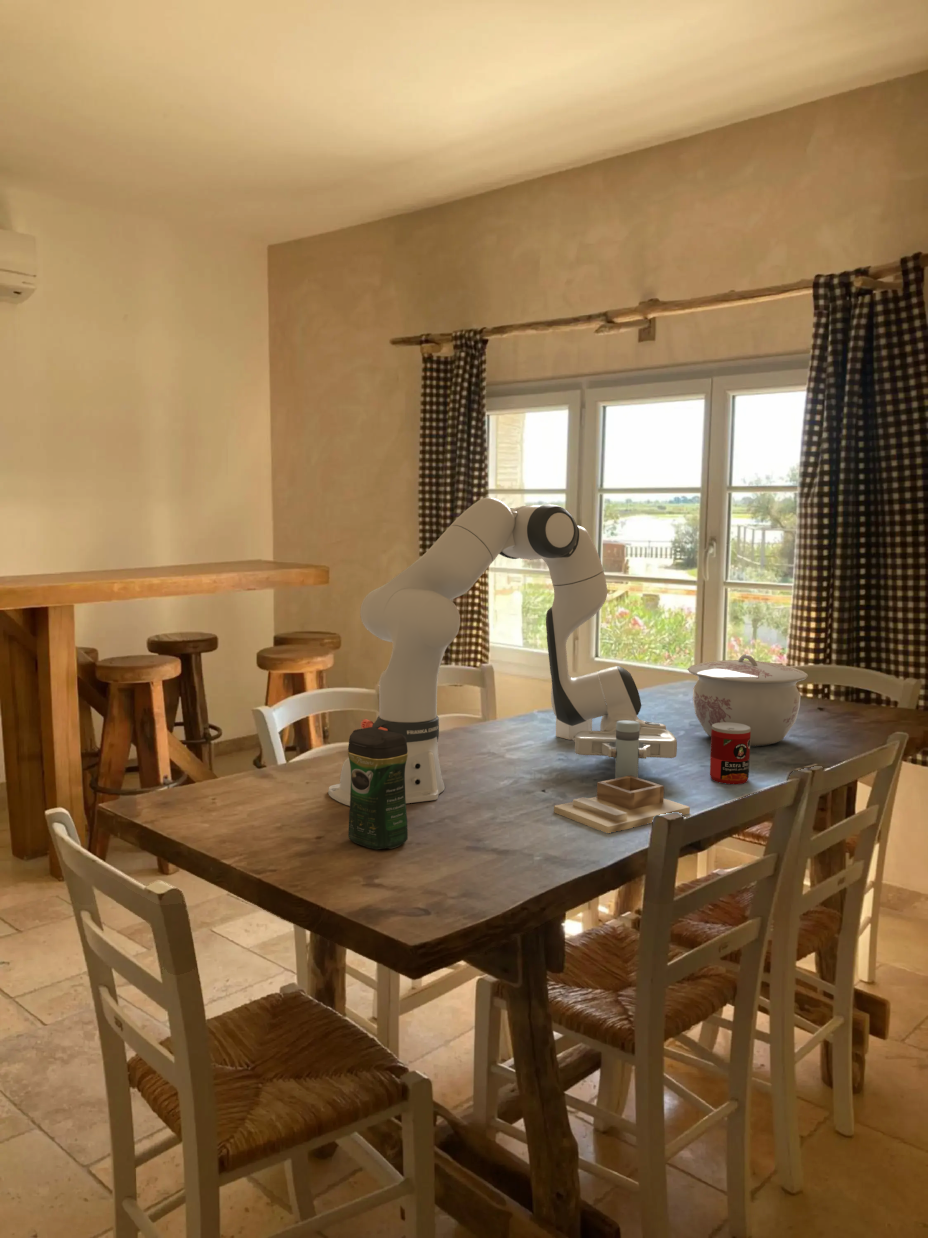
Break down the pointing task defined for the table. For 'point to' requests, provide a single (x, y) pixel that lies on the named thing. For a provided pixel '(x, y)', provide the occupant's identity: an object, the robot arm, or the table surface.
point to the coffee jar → (377, 788)
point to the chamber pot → (748, 696)
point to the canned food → (730, 752)
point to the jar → (571, 729)
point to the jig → (621, 805)
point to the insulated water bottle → (627, 748)
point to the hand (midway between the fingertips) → (627, 754)
